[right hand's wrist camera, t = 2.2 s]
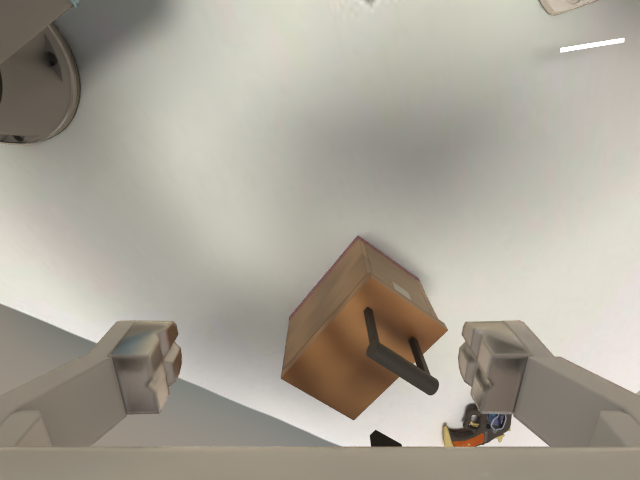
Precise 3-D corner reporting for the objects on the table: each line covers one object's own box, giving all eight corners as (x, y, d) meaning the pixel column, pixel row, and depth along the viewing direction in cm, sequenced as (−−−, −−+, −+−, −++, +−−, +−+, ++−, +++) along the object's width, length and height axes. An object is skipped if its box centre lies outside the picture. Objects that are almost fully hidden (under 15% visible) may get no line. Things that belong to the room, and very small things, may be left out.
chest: (357, 235, 48) (367, 274, 38) (418, 278, 51) (442, 325, 41) (289, 317, 53) (281, 370, 43) (347, 353, 55) (353, 411, 45)
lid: (369, 271, 38) (381, 319, 30) (444, 323, 40) (473, 380, 33) (281, 370, 43) (272, 433, 35) (353, 412, 45) (359, 480, 37)
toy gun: (444, 459, 60) (511, 463, 58) (448, 358, 54) (522, 359, 52) (441, 445, 62) (505, 448, 61) (445, 346, 56) (516, 348, 55)
